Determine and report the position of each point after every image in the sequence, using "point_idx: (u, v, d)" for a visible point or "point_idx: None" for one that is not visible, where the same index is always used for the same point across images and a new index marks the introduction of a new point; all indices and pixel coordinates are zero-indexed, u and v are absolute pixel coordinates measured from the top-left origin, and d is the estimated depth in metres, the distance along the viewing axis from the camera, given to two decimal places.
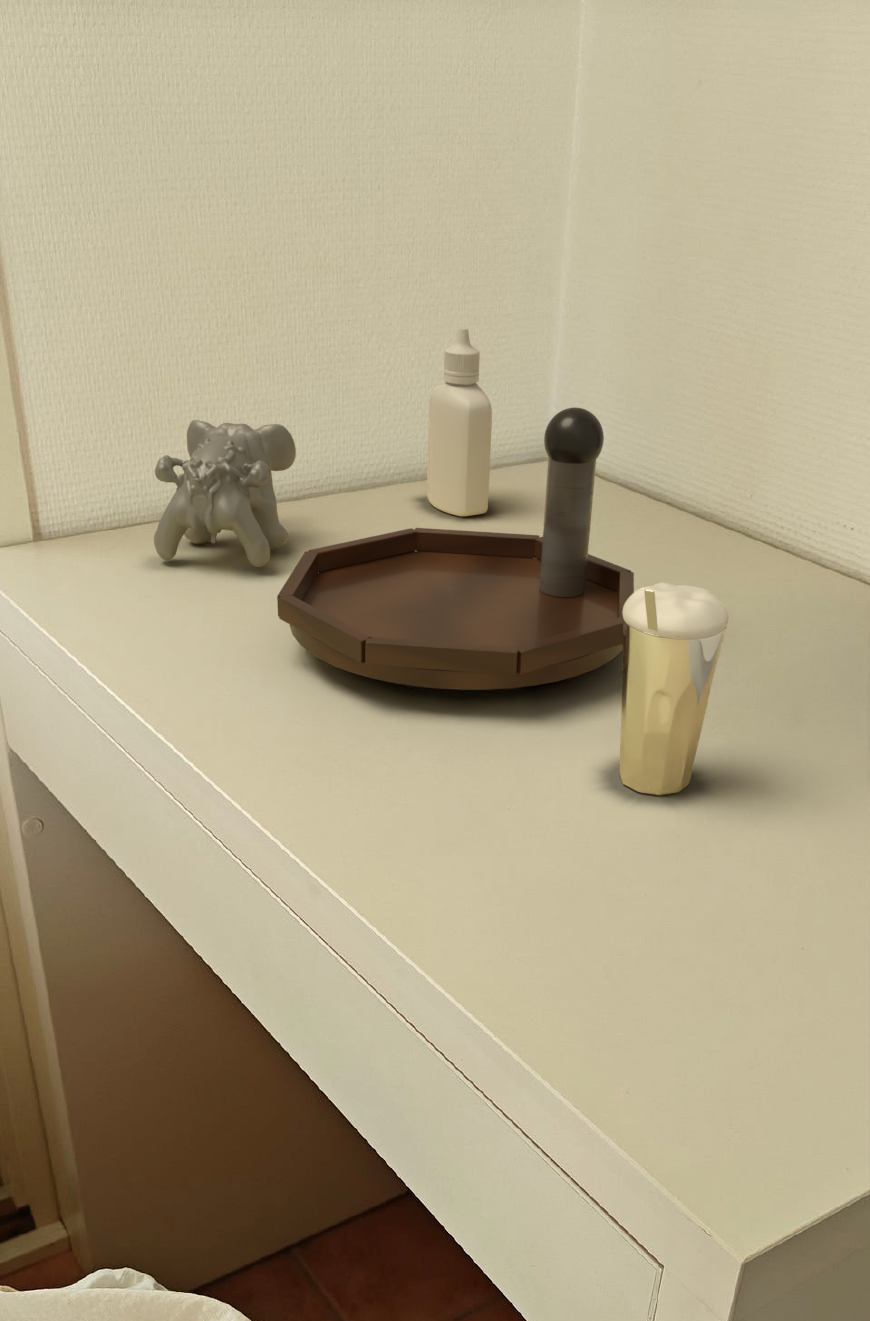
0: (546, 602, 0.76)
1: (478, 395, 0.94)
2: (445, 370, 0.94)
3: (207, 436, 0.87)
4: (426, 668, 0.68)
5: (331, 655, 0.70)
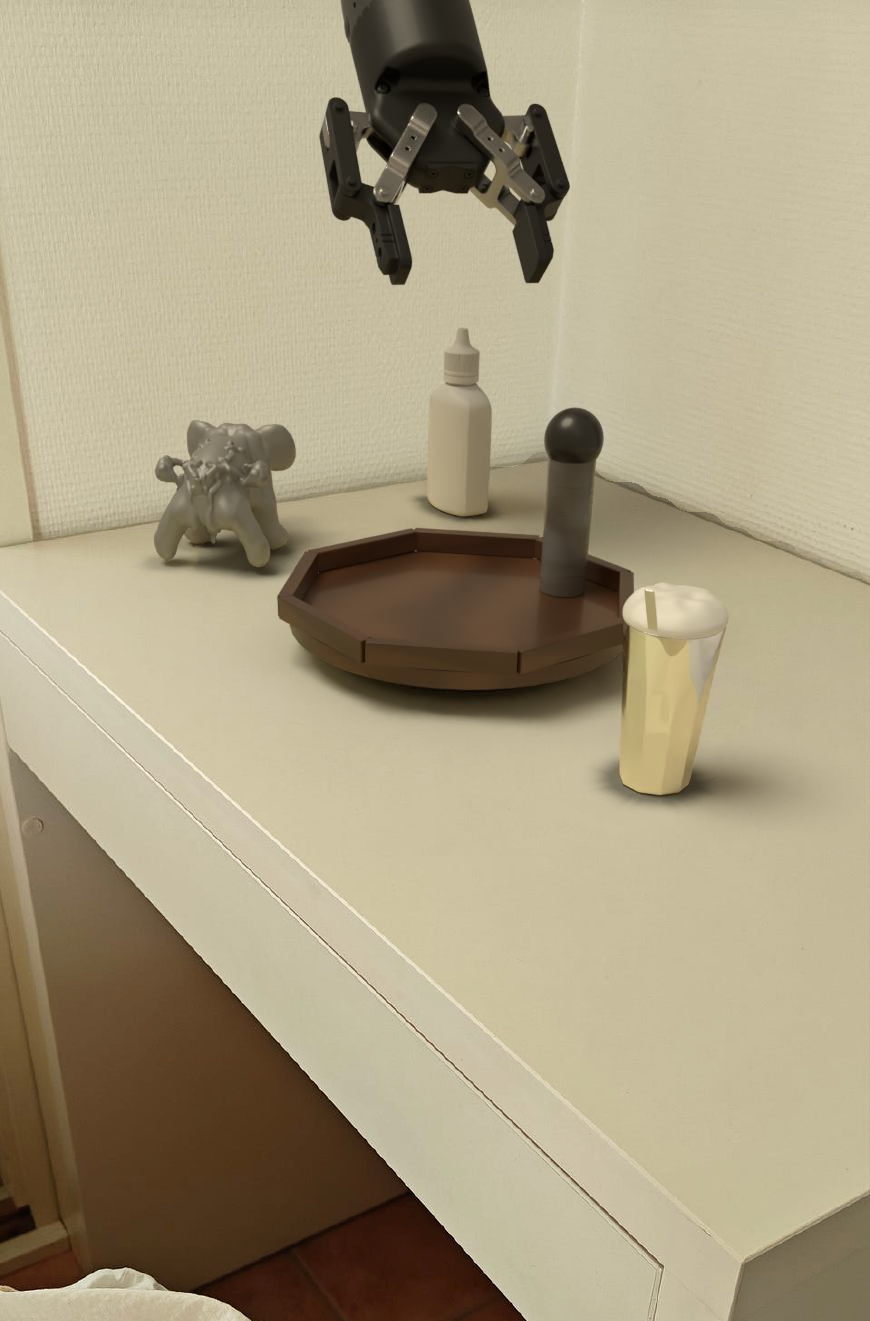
0: (546, 602, 0.76)
1: (478, 395, 0.94)
2: (444, 370, 0.94)
3: (207, 436, 0.87)
4: (426, 668, 0.68)
5: (331, 655, 0.70)
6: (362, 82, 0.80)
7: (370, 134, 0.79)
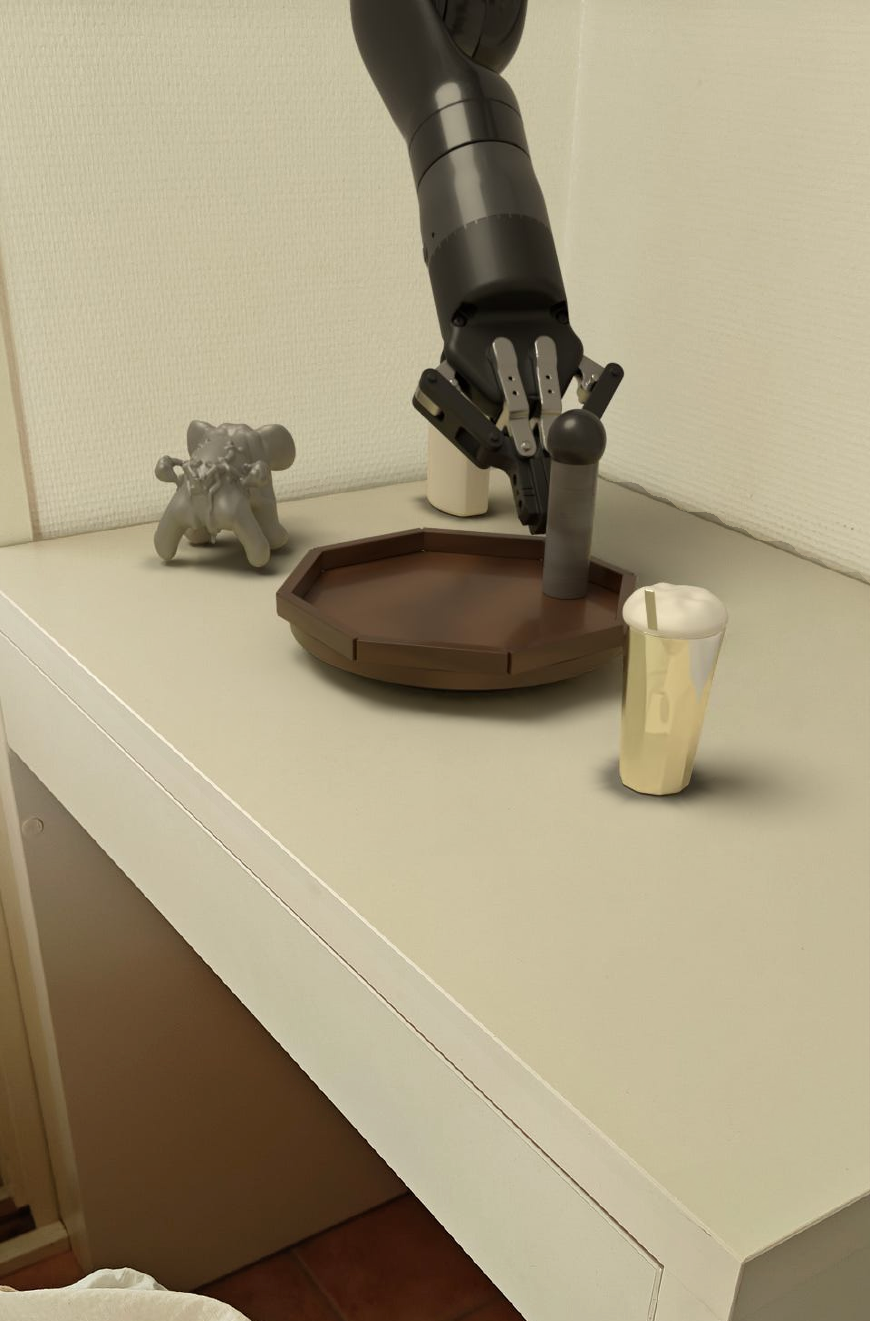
0: (547, 603, 0.76)
1: None
2: None
3: (207, 436, 0.87)
4: (417, 667, 0.68)
5: (325, 652, 0.71)
6: (439, 311, 0.78)
7: (456, 375, 0.78)
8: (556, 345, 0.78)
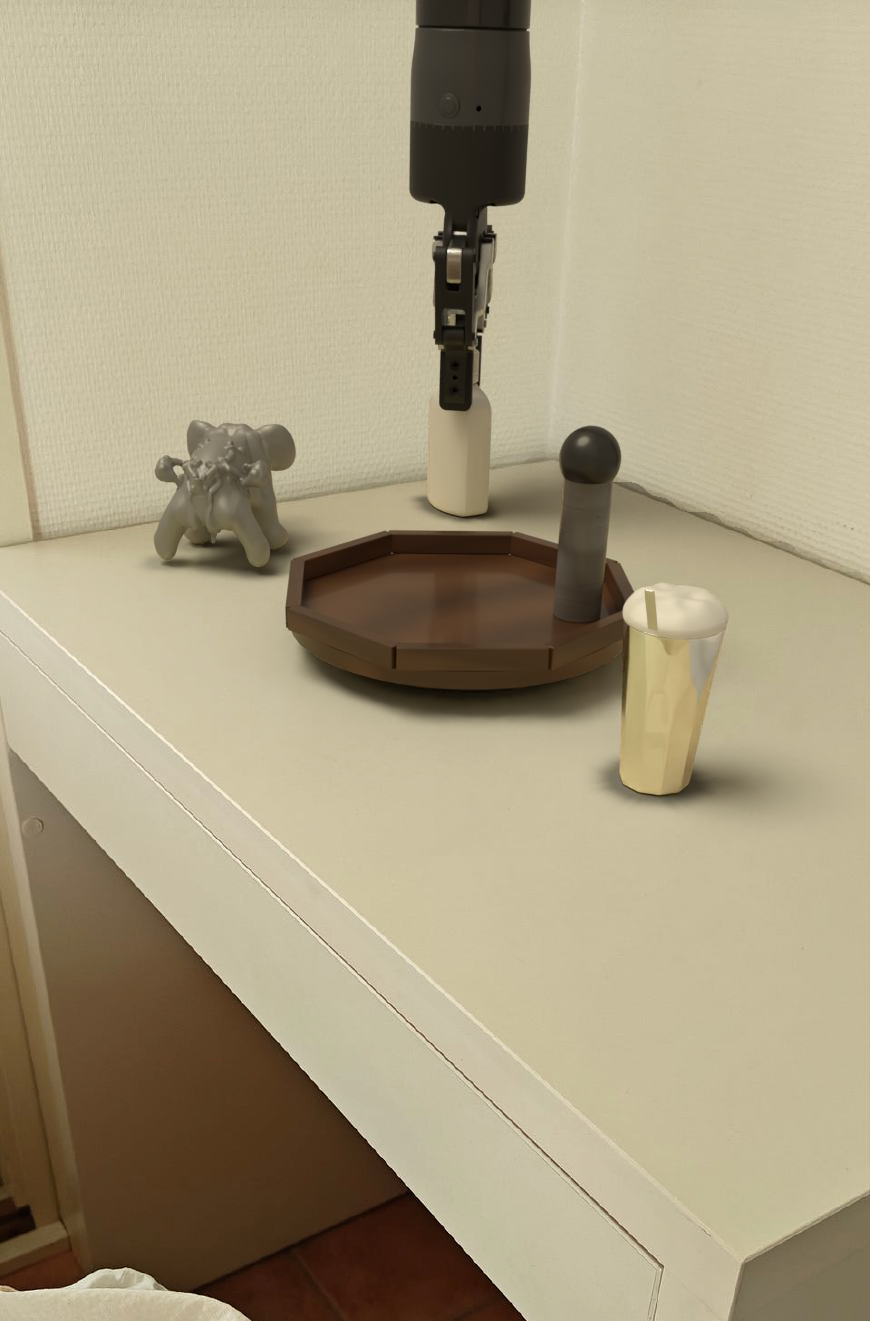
0: (540, 621, 0.74)
1: (478, 395, 0.93)
2: None
3: (207, 436, 0.87)
4: (329, 645, 0.70)
5: None
6: (456, 183, 0.84)
7: None
8: None
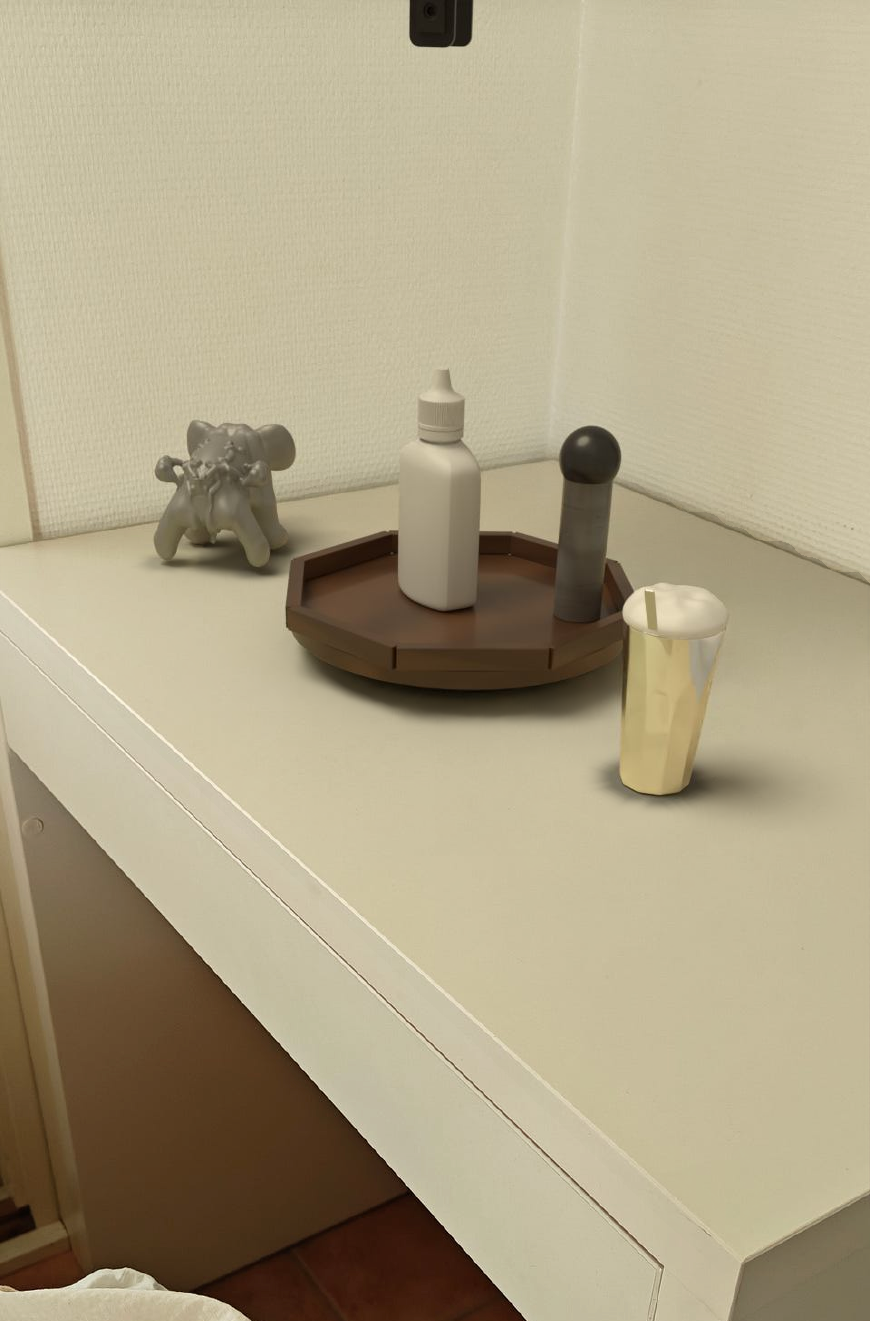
0: (540, 621, 0.74)
1: (463, 455, 0.71)
2: (419, 422, 0.71)
3: (207, 436, 0.87)
4: (329, 645, 0.70)
5: None
6: None
7: None
8: None
